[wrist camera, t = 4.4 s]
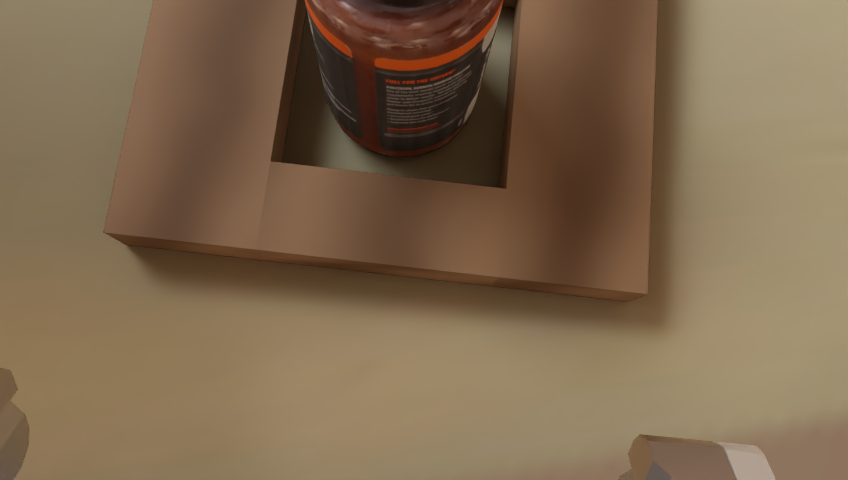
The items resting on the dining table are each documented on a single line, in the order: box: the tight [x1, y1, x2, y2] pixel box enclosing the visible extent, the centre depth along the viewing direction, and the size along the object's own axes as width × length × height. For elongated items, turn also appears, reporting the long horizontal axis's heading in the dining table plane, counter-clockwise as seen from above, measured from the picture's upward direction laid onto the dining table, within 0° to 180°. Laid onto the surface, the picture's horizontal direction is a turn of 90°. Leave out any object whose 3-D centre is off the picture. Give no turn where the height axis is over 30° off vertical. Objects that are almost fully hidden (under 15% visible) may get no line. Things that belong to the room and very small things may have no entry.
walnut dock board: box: [104, 0, 658, 301], centre depth 26 cm, size 19×15×2 cm
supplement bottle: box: [305, 0, 503, 156], centre depth 22 cm, size 6×6×11 cm
